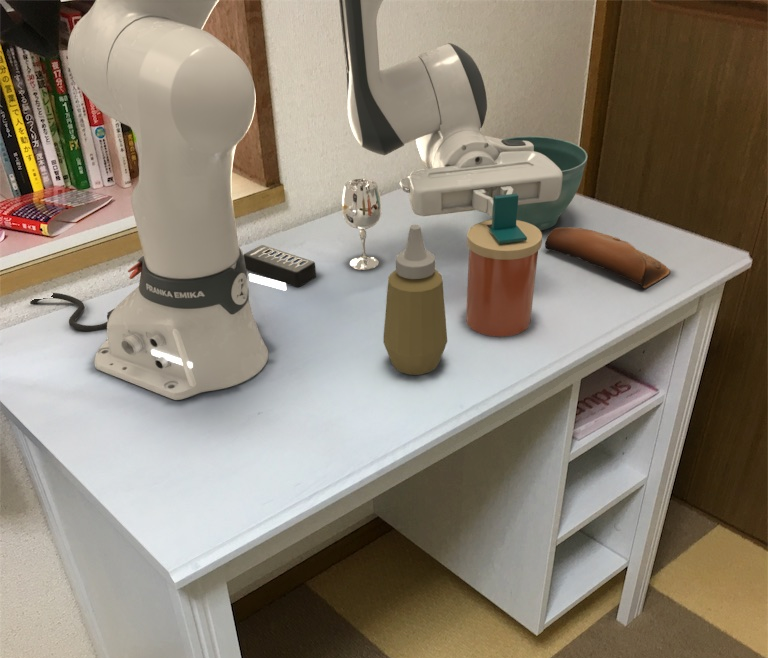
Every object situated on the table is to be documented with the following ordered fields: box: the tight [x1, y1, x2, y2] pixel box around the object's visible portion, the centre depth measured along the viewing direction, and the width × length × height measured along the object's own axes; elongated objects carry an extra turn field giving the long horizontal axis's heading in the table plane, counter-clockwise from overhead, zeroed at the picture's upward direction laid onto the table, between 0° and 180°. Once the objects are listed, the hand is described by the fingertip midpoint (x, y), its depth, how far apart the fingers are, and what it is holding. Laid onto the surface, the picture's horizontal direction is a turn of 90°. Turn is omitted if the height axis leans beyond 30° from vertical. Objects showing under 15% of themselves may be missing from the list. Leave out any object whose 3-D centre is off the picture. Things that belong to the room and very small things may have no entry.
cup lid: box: [466, 219, 543, 260], centre depth 104 cm, size 9×9×1 cm
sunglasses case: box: [544, 226, 671, 289], centre depth 122 cm, size 18×7×7 cm
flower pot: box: [502, 135, 588, 231], centre depth 131 cm, size 16×16×11 cm
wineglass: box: [341, 178, 382, 271], centre depth 121 cm, size 6×6×12 cm
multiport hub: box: [243, 244, 317, 288], centre depth 123 cm, size 4×11×2 cm, turn 54°
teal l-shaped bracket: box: [489, 194, 527, 244], centre depth 101 cm, size 4×4×4 cm
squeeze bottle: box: [383, 224, 448, 376], centre depth 98 cm, size 8×8×18 cm
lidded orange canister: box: [465, 247, 539, 338], centre depth 108 cm, size 9×9×11 cm
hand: (503, 210), depth 102 cm, fingers closed, pressing on teal l-shaped bracket
